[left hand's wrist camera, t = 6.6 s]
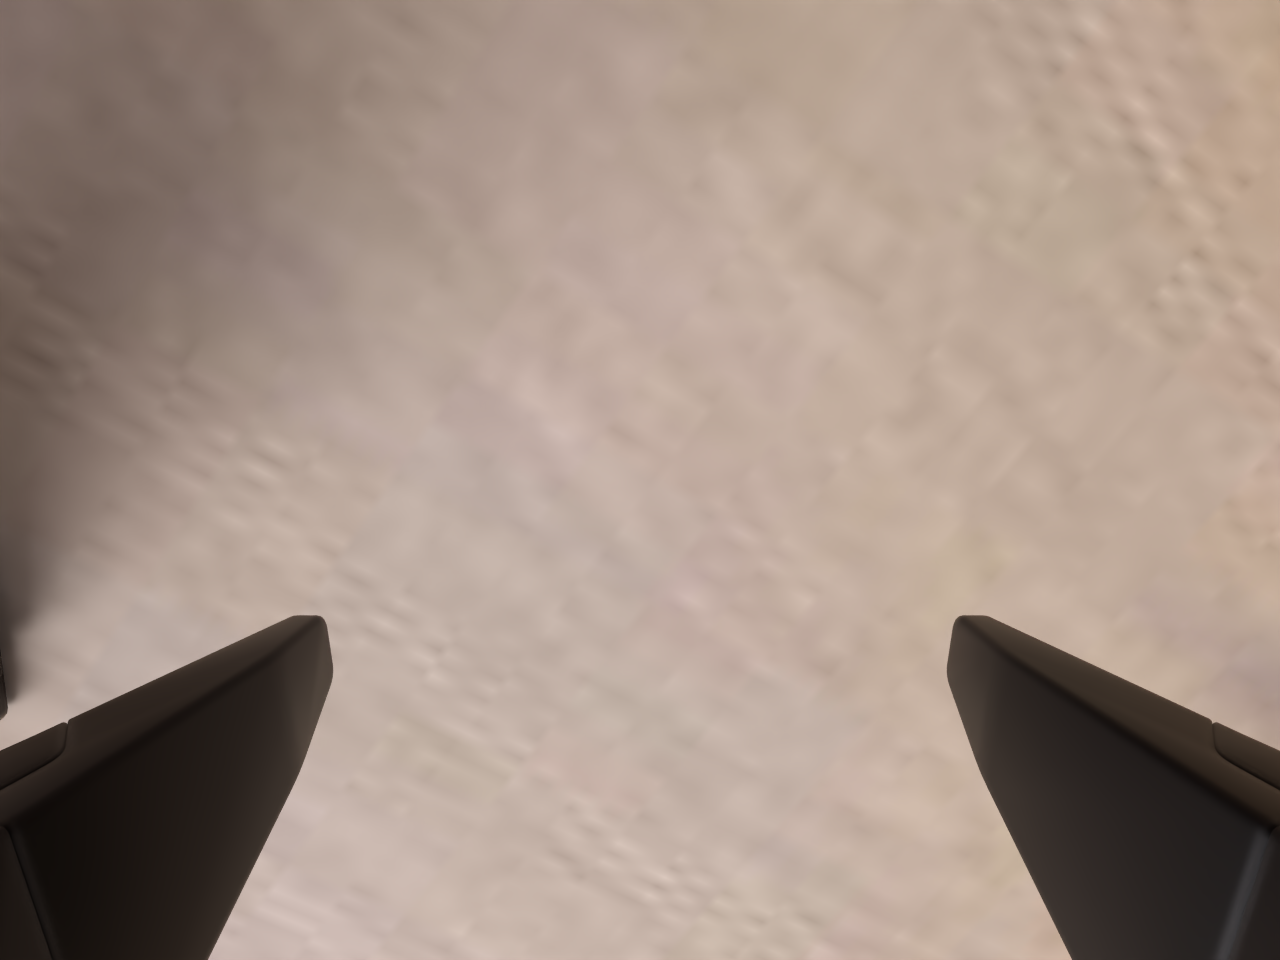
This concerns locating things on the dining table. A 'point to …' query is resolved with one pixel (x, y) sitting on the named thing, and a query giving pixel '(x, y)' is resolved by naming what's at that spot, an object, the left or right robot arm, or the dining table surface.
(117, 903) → the left robot arm
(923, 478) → the dining table surface
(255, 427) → the dining table surface
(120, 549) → the dining table surface
